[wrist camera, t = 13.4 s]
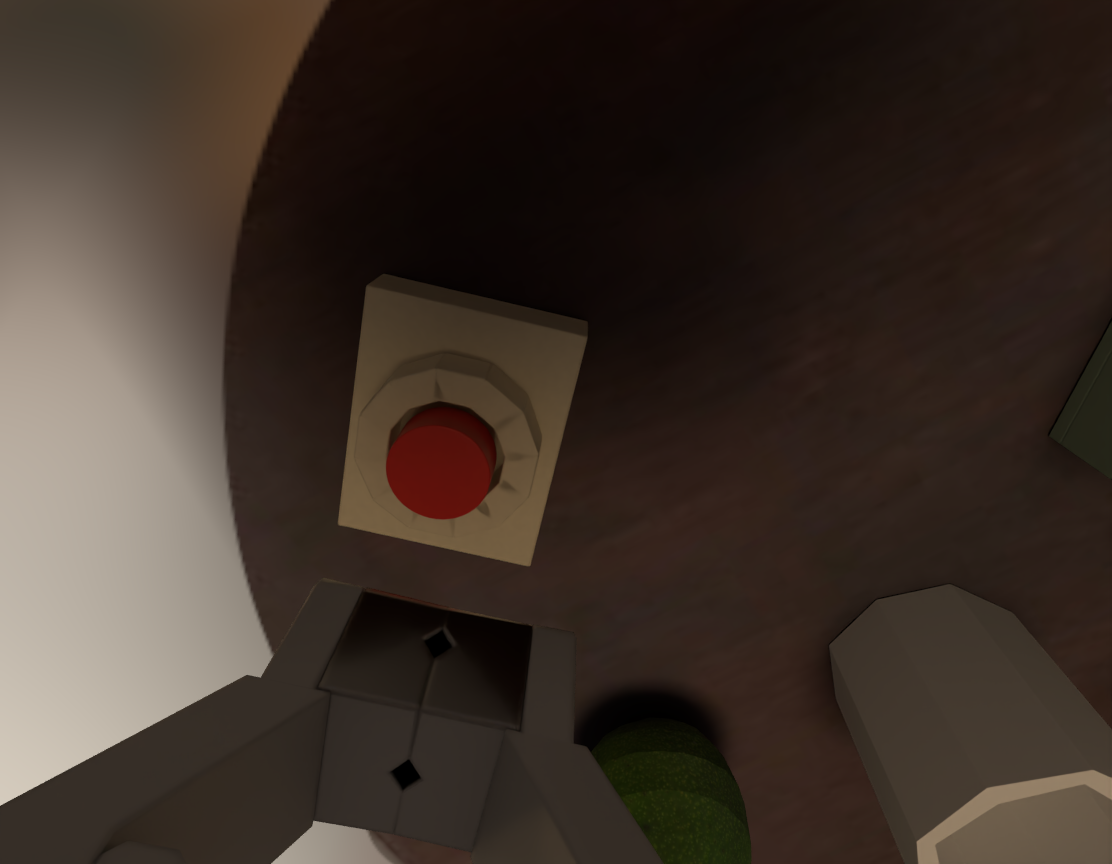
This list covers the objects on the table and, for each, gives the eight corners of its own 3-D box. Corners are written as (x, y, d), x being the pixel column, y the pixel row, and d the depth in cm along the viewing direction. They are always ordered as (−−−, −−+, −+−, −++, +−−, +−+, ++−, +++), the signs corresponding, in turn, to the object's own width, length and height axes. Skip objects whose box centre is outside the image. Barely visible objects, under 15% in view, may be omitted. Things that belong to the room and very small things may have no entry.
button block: (382, 272, 27) (349, 296, 24) (588, 321, 28) (587, 351, 24) (353, 499, 31) (321, 549, 28) (534, 539, 32) (526, 593, 28)
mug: (793, 642, 33) (867, 837, 24) (973, 549, 31) (1130, 727, 22) (913, 800, 37) (1017, 1022, 28) (1083, 727, 34) (1258, 944, 25)
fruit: (539, 718, 36) (514, 984, 25) (683, 655, 34) (725, 914, 23) (619, 818, 38) (629, 1101, 27) (757, 765, 36) (828, 1047, 25)
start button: (405, 396, 25) (392, 414, 24) (505, 418, 26) (499, 438, 24) (391, 484, 27) (379, 507, 25) (487, 505, 27) (480, 530, 25)
